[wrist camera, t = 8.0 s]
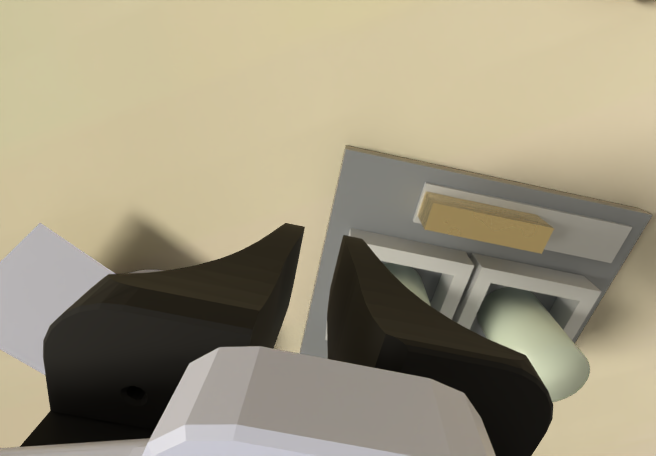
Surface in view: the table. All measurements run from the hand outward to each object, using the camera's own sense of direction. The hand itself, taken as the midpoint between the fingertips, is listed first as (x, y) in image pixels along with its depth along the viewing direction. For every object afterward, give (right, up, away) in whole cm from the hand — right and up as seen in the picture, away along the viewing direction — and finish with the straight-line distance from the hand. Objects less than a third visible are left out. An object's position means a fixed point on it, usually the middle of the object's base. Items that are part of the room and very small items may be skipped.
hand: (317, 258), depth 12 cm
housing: (+8, -3, +11) cm, 14 cm away
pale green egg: (+11, -4, +10) cm, 16 cm away
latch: (+8, +2, +8) cm, 11 cm away
